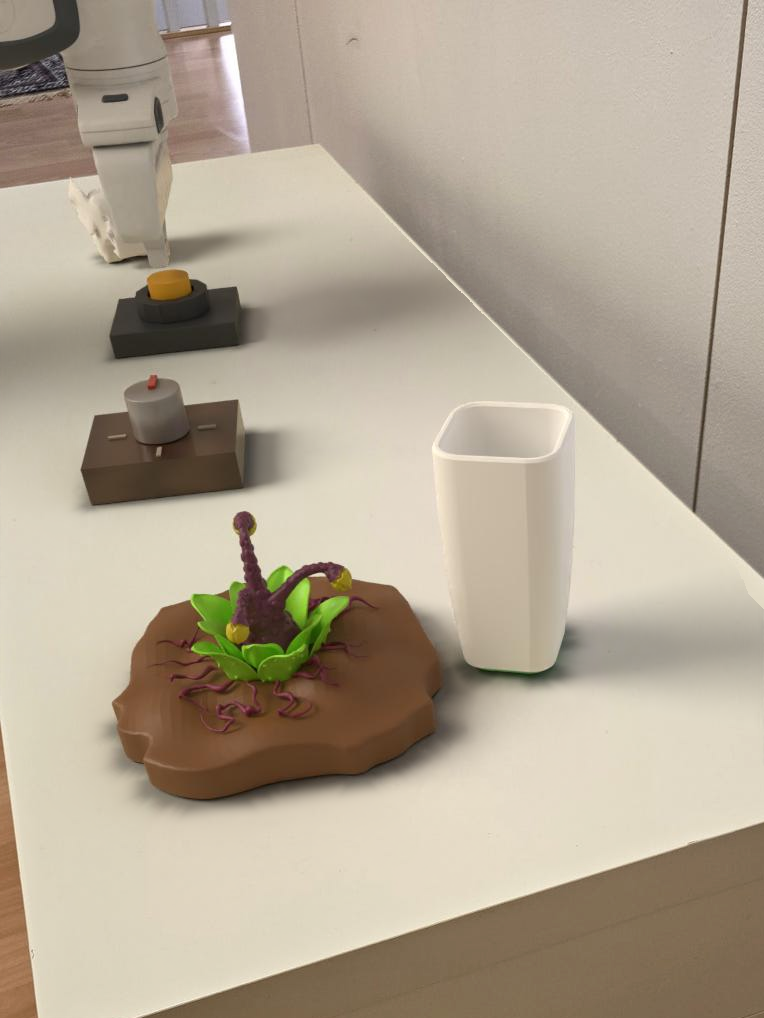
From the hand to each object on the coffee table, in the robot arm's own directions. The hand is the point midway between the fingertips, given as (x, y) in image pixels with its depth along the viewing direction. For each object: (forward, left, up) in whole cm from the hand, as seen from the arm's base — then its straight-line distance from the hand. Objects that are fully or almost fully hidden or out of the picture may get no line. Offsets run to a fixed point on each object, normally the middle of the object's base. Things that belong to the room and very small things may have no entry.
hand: (160, 263), depth 117 cm
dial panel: (+1, -30, -7) cm, 31 cm away
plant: (+10, -63, -7) cm, 64 cm away
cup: (+25, -62, -7) cm, 67 cm away
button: (0, 0, -3) cm, 3 cm away
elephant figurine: (-7, +25, -7) cm, 27 cm away
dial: (+1, -30, -4) cm, 30 cm away
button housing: (0, 0, -7) cm, 7 cm away
